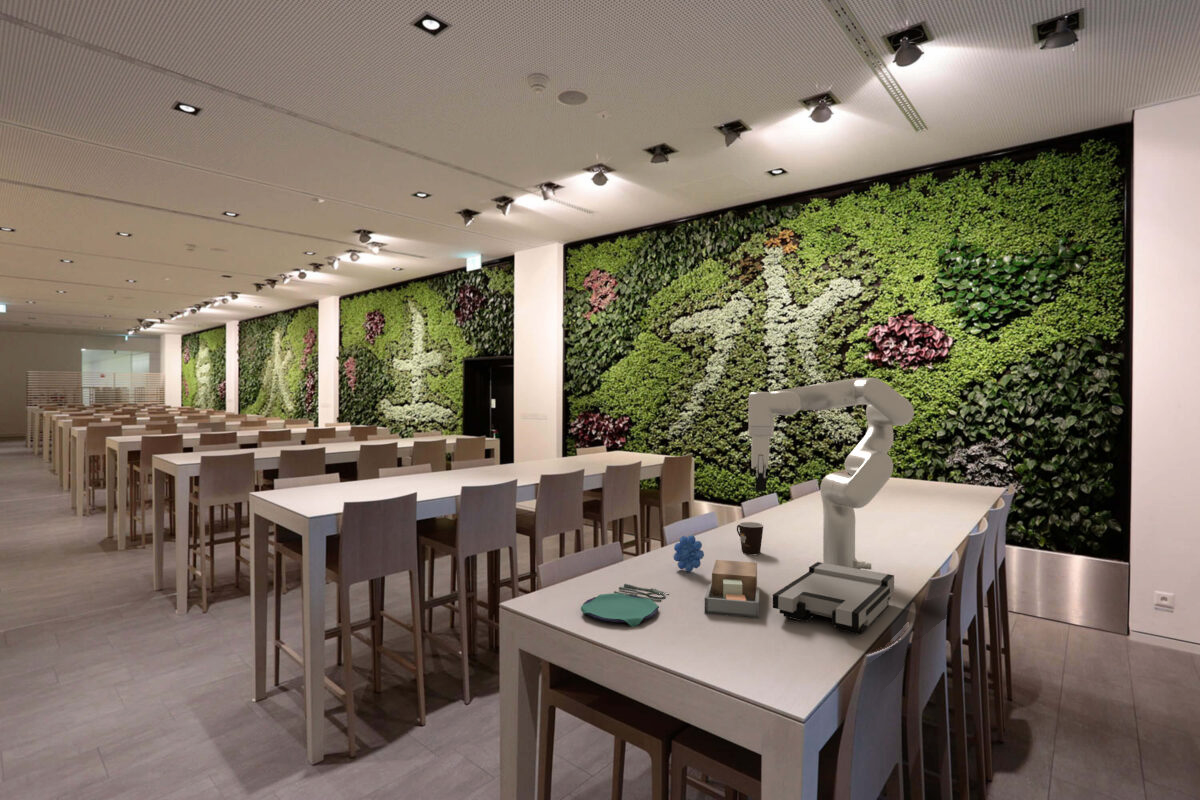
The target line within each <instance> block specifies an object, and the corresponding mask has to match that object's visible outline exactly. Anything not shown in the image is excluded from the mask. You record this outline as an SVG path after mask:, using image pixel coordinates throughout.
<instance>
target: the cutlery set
mask: <svg viewBox="0 0 1200 800" xmlns="http://www.w3.org/2000/svg"><path fill="white" fill-rule="evenodd" d="M637 589H639V590H637ZM618 590H619V591H616V590H614V591H613V593H603V594H601V593H600V594H599V595H597V596H594V597H592V598H589V599H587V600H586V601H584V602H583V604H582V605H580V611H581V612H582V613H583V615H584V616H587V615H588V616H590V617H591V618H594V619H597V620H601V621H605V622H611V623H612V622H613V623H626V624H628V625H629V626H630V627H631V626H633V627H637V626H638V625H640V623H641V622H642V621H644V620H647V619H650V618H652V617H654V616H656V614H657V613H658V611H659V608H660V606H659V605H658V604H657V603H656V602H662V599H665V598H666V597H667V596H669V594H666V595H664V594H665V593H666V592H665V591H662V590H658V589H656V588H653V587H651V588H645V587H640V586H636V585H632V584H628V583H624V584H623V586H619V587H618ZM643 590H645V592H644V591H643ZM621 591H626V592H621ZM646 591H647V592H646ZM628 592H632V593H628ZM664 592H665V593H664ZM635 593H636V594H635ZM659 593H660V594H659ZM663 593H664V594H663ZM638 594H641V595H638ZM651 594H657V595H656V596H653V595H651ZM642 595H645V596H642ZM660 595H662V596H663V597H662V596H660ZM647 596H648V597H647ZM652 597H653V598H652Z"/></svg>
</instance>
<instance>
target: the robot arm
mask: <svg viewBox="0 0 1200 800" xmlns="http://www.w3.org/2000/svg"><path fill="white" fill-rule="evenodd" d="M858 405H861V406H862V405H863V406H864V405H867V406H866V409H865V415H866V420H867V430H866V432H865V435H864V436H863V437H862V438H861V440H860V441H859V442H858V443H857V445H855V447H854V448H853V449H851V450H852V451H850V453H849V454H848V455H847V456H846V458H845V461H844V468H845V471H846V472H847V473H848V474H847V473H843V472H842V473H841V472H832V473H829V474H827V475H825V476H824V477H823V479H822V481H821V483H820V488H819V489H820V498H821V501H822V511H823V512H822V514H823V522H822V523H823V527H822V530H823V533H822V535H823V536H822V537H823V538H822V539H823V541H822V543H823V544H822V545H823V546H822V547H823V548H822V549H823V550H822V552H823V553H822V556H823V557H822V560H823V561H822V563H827V564H832V565H838V566H844V567H849V568H855V569H861V570H868V571H871V570H872V563H869V562H866V561H859V560H857V558H856V513H855V509H862V508H864V507H866V506H867V505H868V504H870V503H871V502H872V500H873V499H874V498H875V497H876V495H878V493H879V492H880V491H881V489H882V488H883V487H884V486H885V485H886V484H887V482H888V481H889V480H890V478H891V476H892V474H893V471H894V463H893V460H892V457H890V455H889V454H888V452H889V451H890V449H892V447H893V443H894V430H893V429H894V428H893V426H897V427H901V426H905V425H908V424H909V423H911V422H912V420H913V419H914V416H915V410H914V407H913V405H912V403H911V402H910V401H909V400H908V399H907V398H906V397H904V396H903V395H902V394H901V393H899V392H898V391H897V390H895V389H894V388H893V387H891V386H890V385H889V384H887V383H885V382H884V381H883V380H881V379H879V378H876V377H855V378H850V379H849V378H848V379H843V380H836V381H830V382H829V381H828V382H822V383H816V384H810V385H804V386H799V387H792V388H786V389H778V390H773V391H769V392H768V391H753V392H750V393H749V394H748V437H751V450H750V451H751V462H750V463H751V469H752V470H754V469H756V470H755V471H756V473H755V475H756V476H755V491H756V492H766V491H767V477H766V470H767V469H768V467H769V461H770V460H769V459H770V438H773V437H774V421H775V420H774V415H775V416H778V415H781V416H792V415H795V414H796V413H797V412H799V411H826V410H828V411H829V410H833V409H840V408H847V407H853V406H858Z"/></svg>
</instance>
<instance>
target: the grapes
mask: <svg viewBox="0 0 1200 800" xmlns="http://www.w3.org/2000/svg"><path fill="white" fill-rule="evenodd" d="M702 547H703V543H702V541H700V540H696V537H695V535H693V534H690V535H688V536H685V535H683V536H681V537H680V538H679V541H678V542H676V543H675V544H674V546H673V548H674V549H673V550H674V551H675V553H674V554H673V560H674V561H675V562H677V567H678V569H680V570H685V571H686V572H687V571H688V573H691V572H692V571H693V570H694V568H695V569H698V568H700V566H701V564H702V563H701V560H702V559H703V558H704V557H705V553H704V551H703V550H701V549H702Z"/></svg>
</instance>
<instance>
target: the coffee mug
mask: <svg viewBox="0 0 1200 800" xmlns="http://www.w3.org/2000/svg"><path fill="white" fill-rule="evenodd" d="M763 531H764V524H763V523H761V522H754V521H753V522H752V521H744V522H739V523H738V524H737V526H736V532H737V536H739V540H740V546H741V547H740V548H741V553H742V552H743V553H742V554H744V553H745V555H749V554H757V555H760V554H761V550H762V543H763V542H762V540H763ZM759 553H760V554H759Z"/></svg>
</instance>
